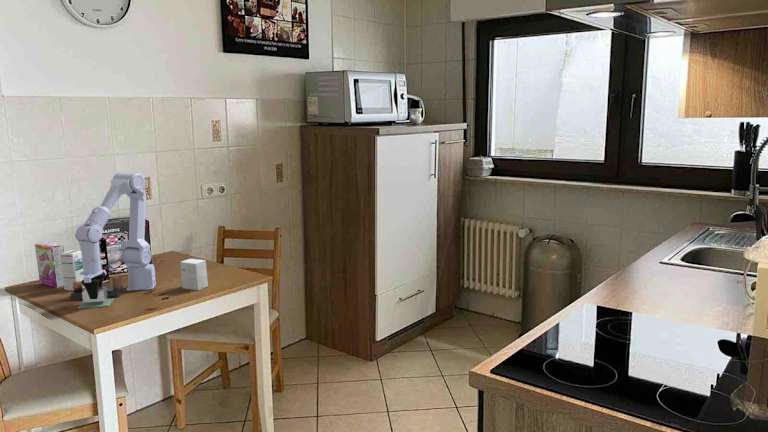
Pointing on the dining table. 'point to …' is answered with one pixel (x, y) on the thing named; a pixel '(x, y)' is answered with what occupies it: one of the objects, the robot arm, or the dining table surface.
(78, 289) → the plane body
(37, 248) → the candy bar box
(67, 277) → the syrup box
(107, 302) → the rubber mat
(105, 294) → the lever cap
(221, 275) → the dining table surface
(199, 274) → the small box
